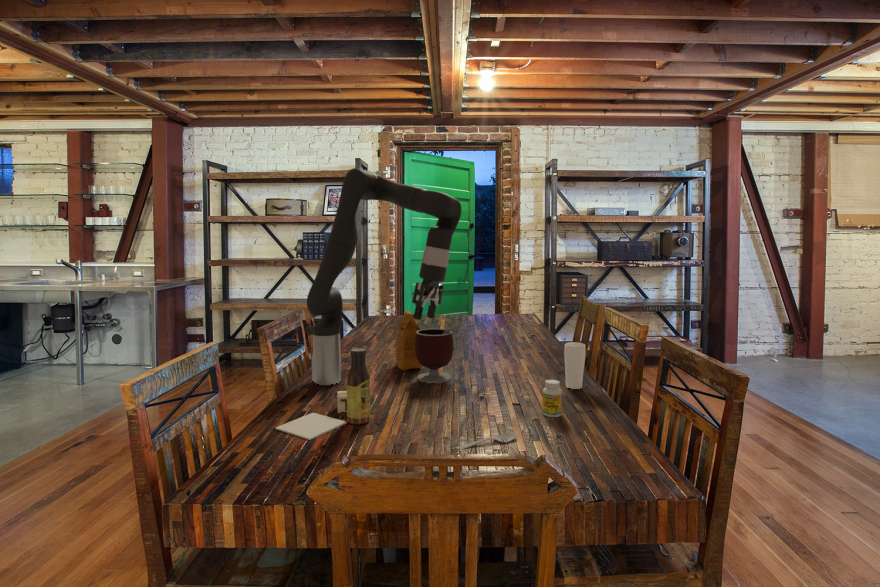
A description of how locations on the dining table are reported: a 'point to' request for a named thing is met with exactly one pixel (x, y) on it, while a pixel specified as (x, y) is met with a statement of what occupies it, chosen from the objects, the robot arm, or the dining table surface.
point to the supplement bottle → (552, 399)
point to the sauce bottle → (358, 389)
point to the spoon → (505, 436)
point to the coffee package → (407, 343)
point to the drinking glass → (574, 364)
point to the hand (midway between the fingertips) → (423, 318)
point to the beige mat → (311, 426)
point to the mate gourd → (434, 353)
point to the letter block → (342, 401)
